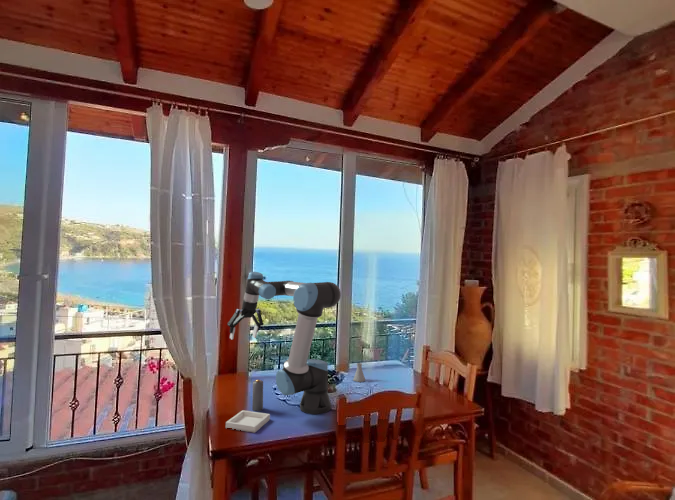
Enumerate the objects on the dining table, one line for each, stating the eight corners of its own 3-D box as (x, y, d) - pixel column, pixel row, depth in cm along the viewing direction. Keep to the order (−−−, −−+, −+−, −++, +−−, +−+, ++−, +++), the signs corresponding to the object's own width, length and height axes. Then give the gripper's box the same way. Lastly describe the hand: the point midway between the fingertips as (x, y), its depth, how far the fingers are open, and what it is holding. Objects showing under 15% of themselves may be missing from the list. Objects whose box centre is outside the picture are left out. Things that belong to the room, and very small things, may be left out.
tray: (269, 419, 183) (269, 414, 183) (254, 432, 169) (254, 426, 169) (242, 415, 187) (242, 410, 187) (225, 428, 173) (225, 422, 173)
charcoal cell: (264, 407, 196) (265, 379, 196) (259, 411, 191) (260, 382, 191) (255, 406, 197) (255, 378, 198) (250, 410, 193) (250, 381, 193)
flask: (361, 383, 234) (361, 366, 234) (350, 381, 238) (351, 364, 238) (367, 379, 240) (367, 363, 240) (356, 377, 244) (357, 361, 244)
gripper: (267, 298, 225) (260, 333, 228) (225, 298, 209) (218, 336, 212) (274, 303, 220) (266, 339, 223) (231, 303, 203) (224, 342, 206)
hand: (242, 338), depth 217 cm, fingers open, 13 cm apart
